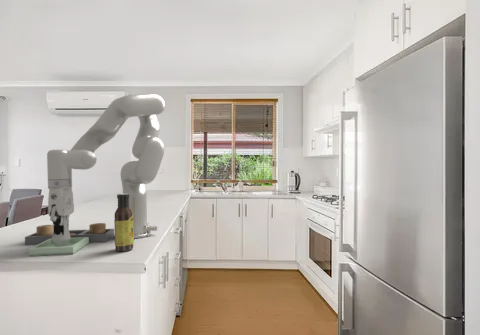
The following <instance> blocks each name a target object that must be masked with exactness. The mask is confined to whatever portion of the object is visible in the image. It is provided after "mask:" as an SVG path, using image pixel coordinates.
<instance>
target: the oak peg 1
mask: <svg viewBox="0 0 480 335" xmlns="http://www.w3.org/2000/svg"><path fill="white" fill-rule="evenodd" d="M35 230H36V232H37V236H51V235H53V231H54V226H53V224H44V225H43V224H42V225H38V226H36V229H35Z"/></svg>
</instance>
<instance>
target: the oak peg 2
mask: <svg viewBox="0 0 480 335" xmlns="http://www.w3.org/2000/svg"><path fill="white" fill-rule="evenodd" d="M106 227H107V224H106V223H105V222H104V223H103V222H96V223H91V224H89V230H90V234H105V233H106V229H107V228H106Z"/></svg>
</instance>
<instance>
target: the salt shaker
mask: <svg viewBox="0 0 480 335" xmlns="http://www.w3.org/2000/svg"><path fill="white" fill-rule="evenodd" d="M56 216H59V215H56ZM57 219H59V220H60V218H57ZM68 223H69V222H68ZM68 223H67V219H66V216H64V217H63V224H62V225H64V236H63V234H62V233H61V234H59V235H56V234H54V231H53V236H52V241H53V243H54V245H55V246H57V247H60V246H66V245H68V243H69V241H70V238H71V237H70V232H69V230H70V228H68Z"/></svg>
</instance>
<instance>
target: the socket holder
mask: <svg viewBox="0 0 480 335" xmlns="http://www.w3.org/2000/svg"><path fill="white" fill-rule="evenodd" d="M69 232H70V237H71V238H78V237H89V243H102V242H103V243H105V242H108V241H110V240H111V239H112V238H113V237H115V228H106V233H105V234H90V229H69ZM52 236H53V235H51V236H37V231H36V232H33V233H31V234H28V235H26V236H25V237H24V245H25V246H26V245H27V246H28V245H30V246H31V245H33V246H34V245H38V244H40V243H42V242H44V241H46V240H48V239H51V238H52Z"/></svg>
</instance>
